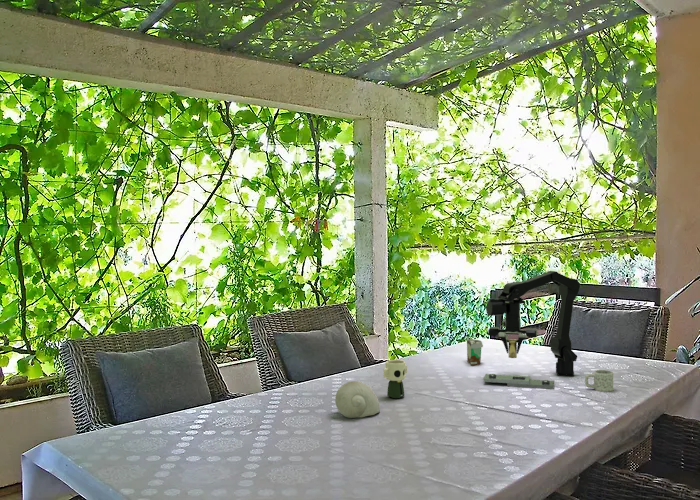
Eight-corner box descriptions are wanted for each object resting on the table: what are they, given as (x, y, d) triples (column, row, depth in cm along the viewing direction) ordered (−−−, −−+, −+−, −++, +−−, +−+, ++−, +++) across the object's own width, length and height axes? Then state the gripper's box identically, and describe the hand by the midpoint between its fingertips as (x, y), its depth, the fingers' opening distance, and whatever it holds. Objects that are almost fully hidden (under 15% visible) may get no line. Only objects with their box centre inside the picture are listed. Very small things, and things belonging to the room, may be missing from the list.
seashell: (336, 436, 218) (337, 407, 208) (332, 402, 228) (333, 373, 219) (381, 432, 219) (385, 404, 210) (375, 399, 230) (378, 370, 221)
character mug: (390, 402, 232) (390, 365, 232) (378, 397, 238) (377, 362, 237) (413, 396, 239) (413, 361, 238) (400, 392, 245) (400, 358, 244)
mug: (610, 387, 248) (610, 370, 248) (615, 392, 242) (615, 374, 242) (582, 387, 249) (582, 369, 249) (587, 391, 243) (587, 373, 243)
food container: (485, 366, 287) (485, 343, 287) (471, 366, 288) (471, 343, 287) (480, 360, 300) (480, 338, 299) (466, 360, 300) (466, 338, 300)
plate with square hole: (554, 384, 254) (554, 375, 254) (553, 389, 247) (553, 380, 247) (486, 379, 263) (486, 372, 263) (483, 384, 255) (483, 376, 255)
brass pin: (518, 356, 266) (518, 339, 266) (517, 358, 262) (517, 341, 262) (507, 355, 268) (507, 338, 267) (506, 358, 263) (506, 340, 263)
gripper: (537, 312, 269) (537, 350, 270) (491, 311, 275) (491, 348, 275) (536, 316, 258) (536, 356, 259) (488, 315, 264) (488, 353, 265)
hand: (512, 353), depth 265 cm, fingers closed on brass pin, 3 cm apart
